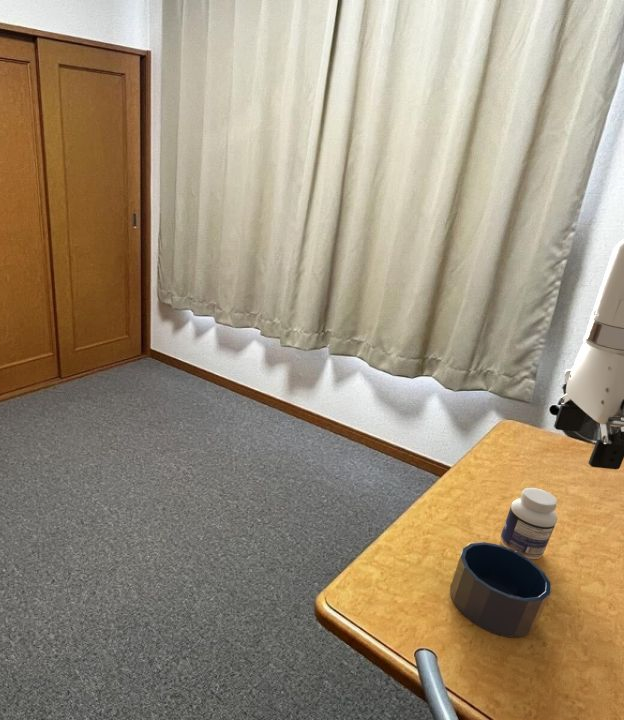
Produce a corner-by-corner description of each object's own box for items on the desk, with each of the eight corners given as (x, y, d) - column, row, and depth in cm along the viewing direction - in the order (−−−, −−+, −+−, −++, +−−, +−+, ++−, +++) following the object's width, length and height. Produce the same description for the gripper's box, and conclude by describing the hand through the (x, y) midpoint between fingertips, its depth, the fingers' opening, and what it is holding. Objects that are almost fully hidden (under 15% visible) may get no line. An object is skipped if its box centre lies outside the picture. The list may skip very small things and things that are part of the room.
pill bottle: (503, 528, 76) (521, 479, 72) (545, 546, 73) (566, 495, 69) (495, 547, 73) (513, 496, 69) (539, 566, 69) (561, 514, 65)
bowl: (517, 585, 66) (531, 550, 64) (548, 646, 58) (565, 609, 56) (441, 570, 69) (452, 536, 66) (461, 627, 61) (474, 590, 58)
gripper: (714, 363, 53) (656, 488, 59) (620, 316, 68) (583, 420, 75) (630, 359, 55) (584, 480, 61) (557, 314, 70) (527, 415, 77)
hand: (583, 447), depth 68 cm, fingers open, 9 cm apart
